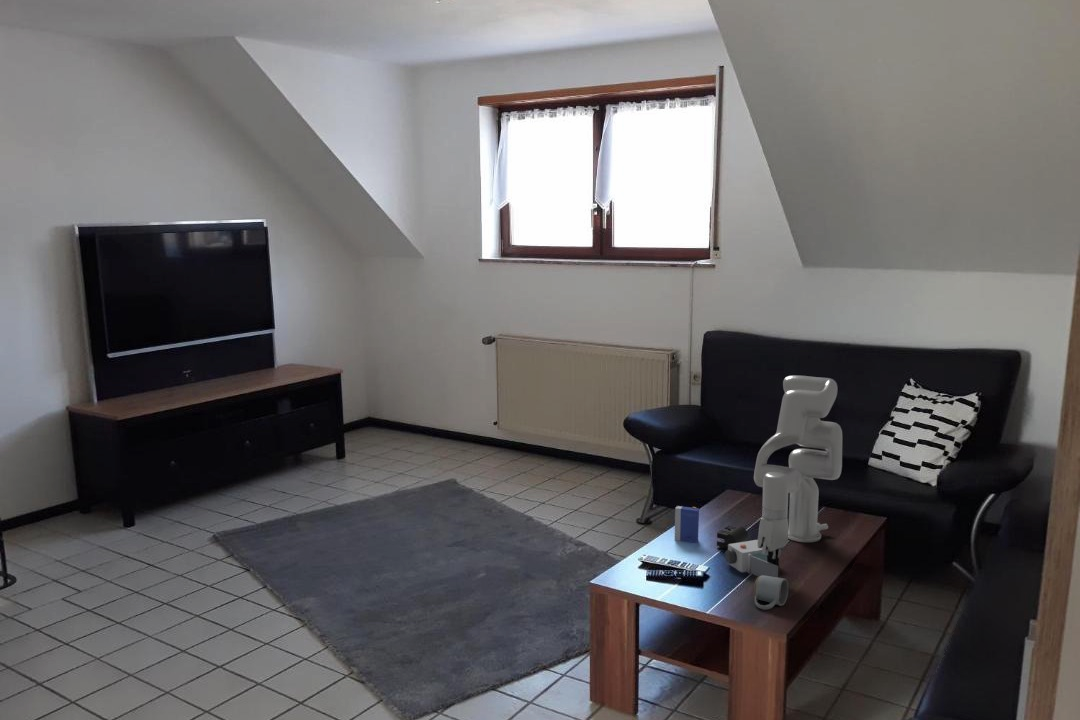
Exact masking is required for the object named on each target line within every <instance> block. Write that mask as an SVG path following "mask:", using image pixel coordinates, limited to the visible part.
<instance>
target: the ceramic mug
mask: <svg viewBox="0 0 1080 720" xmlns="http://www.w3.org/2000/svg"><path fill="white" fill-rule="evenodd" d="M753 585H754V586H753V594H754V604H755V605H756V607H757V608H758V609H760V610H764V611H765V610H770V609H773V608H774V606H775V605H776V606H780V607H782V606H784V605H785V604H786V603H787V599H788V595H789V582H788V580H787V579H786V578H782V577H778V578H777V577H771V576H765V575H762V576H759V577H758V576H757V577H756V579H755V581H754V584H753ZM758 600H760V601H761V602H767V603H769V604H765V605H763V604H760V603H758Z"/></svg>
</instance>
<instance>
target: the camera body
mask: <svg viewBox="0 0 1080 720" xmlns="http://www.w3.org/2000/svg"><path fill="white" fill-rule="evenodd" d="M748 554H752V556H754V557H757V558H759V559H762V560H764V561H767V557H766V555H763V554H762V548H758V539H753V540H748V541H747V540H746V541H745V542H739V543H733V544H728V550H727V551H726V552H724V556H725V561H726V563H727V564H728V565H729V566H731V567H733V568H734V569H735V570H736V571H738V572H740V573H747V567H748ZM778 558H779V559H780V557H778Z"/></svg>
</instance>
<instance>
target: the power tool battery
mask: <svg viewBox="0 0 1080 720" xmlns="http://www.w3.org/2000/svg"><path fill="white" fill-rule="evenodd" d="M724 529H725V530H722V529H721V530H719V531H717V533H716V538H717V539H720V540H724V542H723V541H720V540H717V541H716V546H717V551H721V552H724V553H725V552H726V551H727V550H728V544H733V543H739V542H746V541H747V540H748V539H749V538H748V537H749V534H748V531H747V529H746V528H745V527H744V526H743V525H739V526H737V527H736V526H732V525H726V526H725V527H724Z"/></svg>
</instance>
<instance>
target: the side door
mask: <svg viewBox="0 0 1080 720" xmlns="http://www.w3.org/2000/svg"><path fill="white" fill-rule="evenodd" d="M746 573H747V574H751V575H754V576H755V577H757V578H758V577H759V576H762V575H765V576H771V577H777V578H779V569H778V566H777V565H774V564H772V563H769V562H767V561H764V560H762V559H759V558H757V557H754V556H752V554H748V567H747V572H746Z"/></svg>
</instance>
